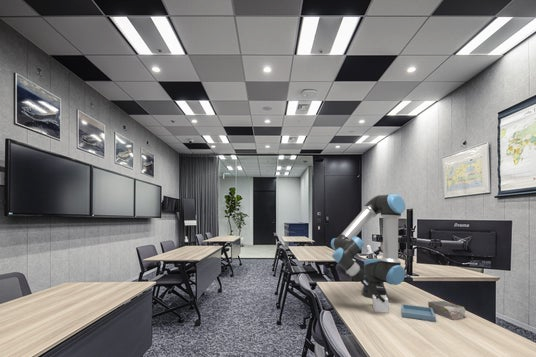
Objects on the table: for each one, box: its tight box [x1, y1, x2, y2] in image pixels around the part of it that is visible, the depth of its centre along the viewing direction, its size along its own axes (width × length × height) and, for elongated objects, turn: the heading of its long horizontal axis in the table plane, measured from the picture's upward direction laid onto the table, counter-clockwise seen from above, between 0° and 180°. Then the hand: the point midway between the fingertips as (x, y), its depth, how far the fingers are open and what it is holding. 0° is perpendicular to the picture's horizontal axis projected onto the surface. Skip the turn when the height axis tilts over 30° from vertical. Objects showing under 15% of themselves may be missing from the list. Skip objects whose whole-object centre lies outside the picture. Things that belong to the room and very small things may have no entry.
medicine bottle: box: [372, 287, 390, 314], centre depth 156 cm, size 7×7×12 cm
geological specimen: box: [427, 300, 466, 321], centre depth 151 cm, size 11×6×15 cm
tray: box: [400, 303, 437, 323], centre depth 149 cm, size 15×15×2 cm
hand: (385, 302), depth 156 cm, fingers open, 11 cm apart
